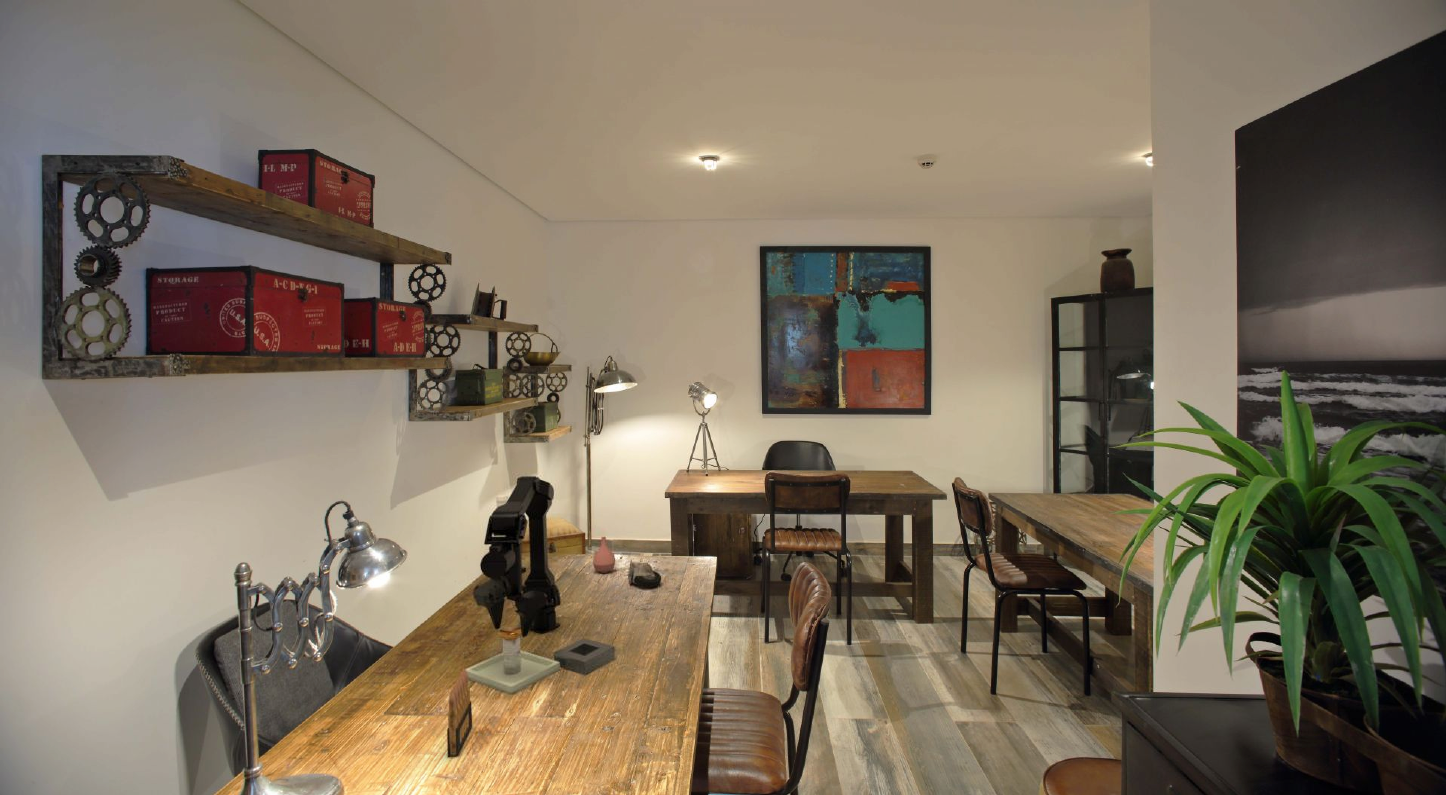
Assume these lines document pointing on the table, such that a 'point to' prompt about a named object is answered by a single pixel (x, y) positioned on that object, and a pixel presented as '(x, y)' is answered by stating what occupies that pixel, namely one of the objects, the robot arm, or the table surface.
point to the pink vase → (604, 558)
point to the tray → (530, 673)
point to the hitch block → (584, 656)
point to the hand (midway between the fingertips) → (510, 632)
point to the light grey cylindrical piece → (511, 649)
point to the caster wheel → (643, 575)
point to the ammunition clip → (459, 715)
